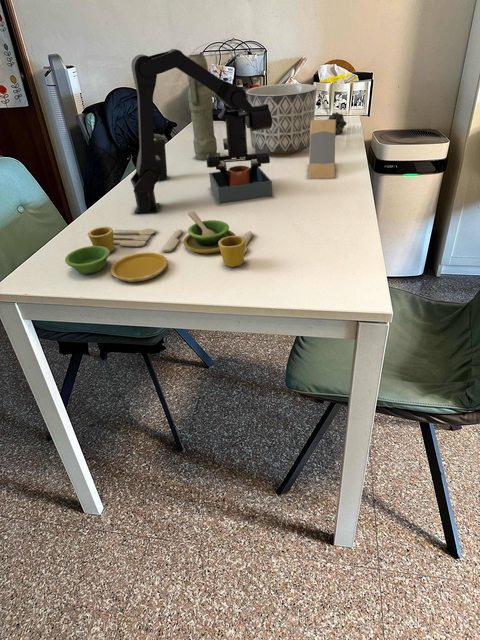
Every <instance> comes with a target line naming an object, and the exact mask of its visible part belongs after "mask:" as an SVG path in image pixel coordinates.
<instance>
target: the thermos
mask: <svg viewBox="0 0 480 640" xmlns="http://www.w3.org/2000/svg"><path fill="white" fill-rule="evenodd" d="M187 57H188V58H190V59H191V60H193V61H194V62H196V63H197V64H199V65H200V66H202V67H203V68H205V69H206V70H208V71H209V68H208V66H209V65H208V62H207V59H206V56H205V55H203V54H202V53H195V54H190V55H188V56H187ZM186 78H187V81H188V91H187V99H188V107H189V111H190V113H191V114H190V115H191V121H192V122H191V124H192V129H193V131H192V132H193V142H192V143H193V151H194V154H195V160H198V161H207V155H208V154H209V153H218V152H217V151H218V144H217V138H216V136H215V127H214V117H213V109H214V101H213V92H212V91H211V90H210V89H208V88H206V87H205V86H203V85H202V84H200V83H199V82H197V81H196V80H194V79H193V78H191V77H190V76H188V75H187V74H186Z"/></svg>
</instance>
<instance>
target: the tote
mask: <svg viewBox="0 0 480 640" xmlns="http://www.w3.org/2000/svg"><path fill="white" fill-rule="evenodd" d="M250 170H251V167H249V173H250ZM227 172H228V170H227ZM208 175H209V182H210V185H209V186H210V189H211V190H212V192H213V194H214V196H215V198H216V200H217V202H218V203H219V204H220V205H221V204H229V203H236V202H241V201H250V200H256V199H262V198H264V199H265V198H270V197H273V181H272V180H271V178H269V176H267V174H266V173H265V172H264V171H263V170H262V168H260V167H258V168H257V170H256V173H255V175H254V179H253V182H252V183H251V184H244V185H237V186H230V187H228V185H227V183H226V181H225V179H224V177H223V175H222V173H221V172H220V171H214V172H209V174H208ZM228 177H229V174H228Z"/></svg>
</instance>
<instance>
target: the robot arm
mask: <svg viewBox="0 0 480 640" xmlns="http://www.w3.org/2000/svg"><path fill="white" fill-rule="evenodd" d="M188 57H189V56H187V55H185V54H184V53H183V51H181V50H180V49H176V48H171V49H169V50H167V51H164V52H160V53H155V54H152V55H147V54H142V53H141V54H137V55H135V56H134V58H133V59H132V60H131V64H130V65H131V72H132V76H133V78H132V79H133V82H134V86H135V91H136V94H137V115H138V117H137V118H138V140H139V150H138V154H137V159H136V166H135V172H134V174H133V175H132V177H131V178H130V183H131V186H132V187H133V195H134V199H135V205H136V208H135V210H134V214H150V213H157V212H158V209H159V207H160V202H157V200H156V194H155V186H156V184H157V183H158V182H160V181H159V174H160V175H162V173H161V170H160V168H161V159H160V158H159V156H158V155H155V152H154V134H155V129H154V126H155V125H154V124H155V123H154V94H155V89H156V86H157V78H158V75H160V74H163V73H166V72H168V71H171V70H174V69H177V70H179V71H180V72H182V73H184V74H185V75H186V76H187V75H188V76H190V77H191V78H193V79H194V80H196V81H197V82H199V83H200V84H202V85H203V86H205V87H206V88H208V89H210V90H211V92H212V94H214V96H216V97H217V99H218V100H220V102H221V103H223V104H224V105H225V106H226V107H228V108H230V109H232V110H227V109H225V108H222V110H221V111H220V112H219V114H218V115H217V117H218V118H219V119H220V120H225V130H226V138H223V139H222V143H223V144H222V145H223V150H224V151H227V155H221V152H217V153H209V154H208V155H207V160H206V168H215V170H218V171H219V172H221V173H222V175H223V177H224V179H225V181H226V183H227V185H228V187H230V186H229V177H228V172H227V171H228V167H227V163H234V162H247V161H250V168H251V170H250V184H251V183H252V182H253V179H254V175H255V173H256V170H257V168H258V167H259V168H260V167H262V165H265V164H270V163H271V158H270V157H271V155H269V151H268V150H267V149H262V150H256V149H255V152H254V153H248V141H247V139H248V138H247V129H249V131H250V130H251V131H258V130H265V129H270V128H271V126H272V117H271V113H270V110H269V105H268V104H261V105H257V106H252V105H251V104H250V103H249V102H248V100H247V96H246V90H245V89H244V88H243V87H240V86H238V85H236V84H235V83H234V84H233V83H231V82H228V81H226V80H224V79H222V78H219V77H218V76H217V75H215V74H214V73H212V72H211V71H210V70H209V69H208V70H206V69H205V68H203V67H202V66H200V65H199V64H197V63H196V62H194V61H193V60H191V59H190V58H188ZM238 110H241V111H243V112H239V111H238Z"/></svg>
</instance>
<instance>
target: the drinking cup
mask: <svg viewBox="0 0 480 640" xmlns="http://www.w3.org/2000/svg"><path fill="white" fill-rule="evenodd" d="M154 152H155V155H158V156H159V158H160V159H161V168H160V170H161V173H162V175H160V174H159V181H158V182H163V181H166V180H168V170H167V169H168V167H167V153H166V136H164V135H161V134H158V133H154Z"/></svg>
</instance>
